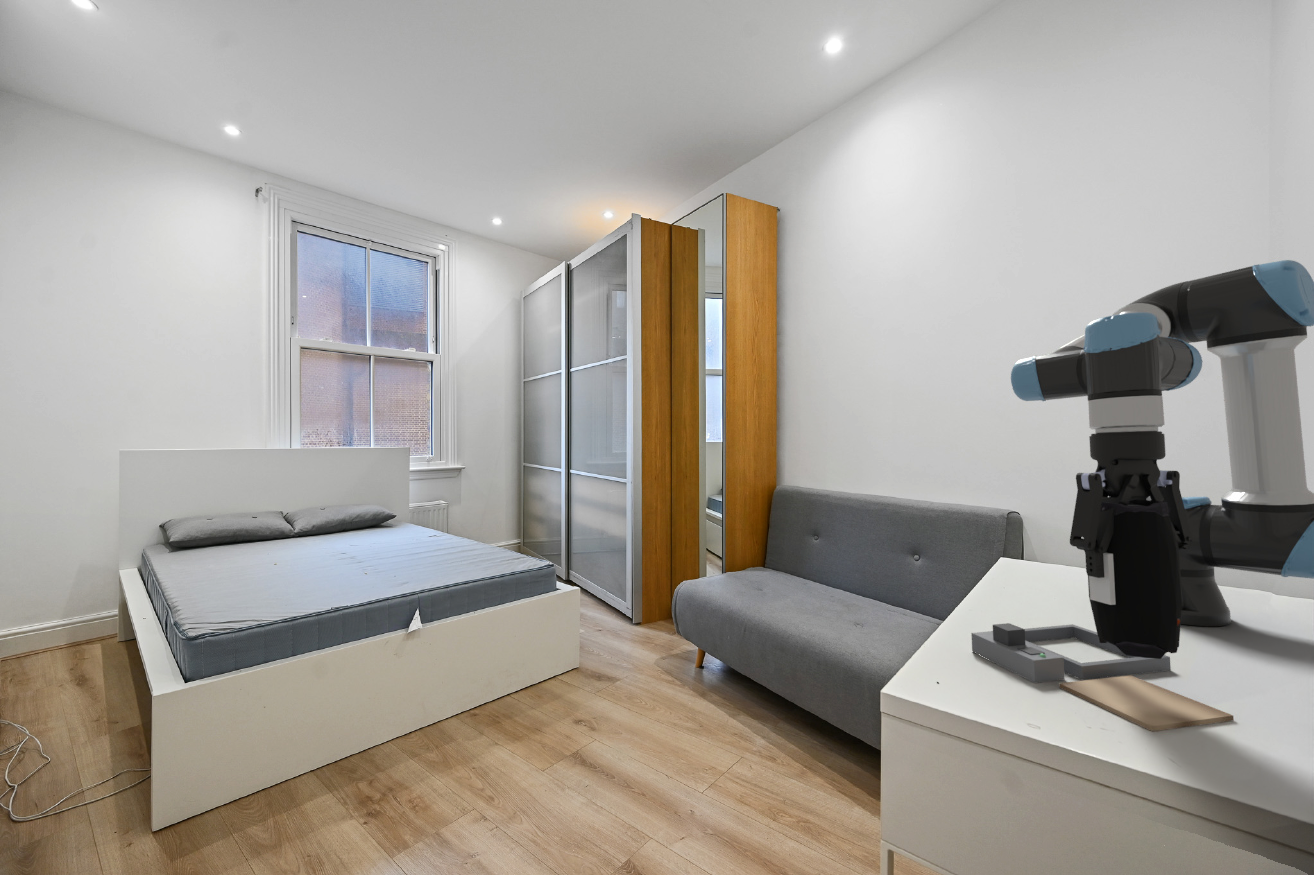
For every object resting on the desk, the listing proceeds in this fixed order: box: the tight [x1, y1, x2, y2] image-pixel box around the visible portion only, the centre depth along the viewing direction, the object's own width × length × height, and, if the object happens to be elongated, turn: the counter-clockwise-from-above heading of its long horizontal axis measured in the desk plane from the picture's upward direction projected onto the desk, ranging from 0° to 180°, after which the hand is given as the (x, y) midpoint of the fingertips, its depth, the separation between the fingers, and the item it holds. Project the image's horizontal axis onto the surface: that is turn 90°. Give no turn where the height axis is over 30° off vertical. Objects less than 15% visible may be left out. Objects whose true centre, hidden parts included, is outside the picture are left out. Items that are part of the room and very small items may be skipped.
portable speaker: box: [1087, 501, 1182, 659], centre depth 70 cm, size 9×9×20 cm
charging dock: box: [1024, 624, 1172, 681], centre depth 85 cm, size 18×16×2 cm
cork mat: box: [1058, 675, 1234, 732], centre depth 69 cm, size 12×12×1 cm
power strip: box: [971, 622, 1065, 684], centre depth 82 cm, size 5×12×6 cm, turn 9°
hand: (1134, 599), depth 70 cm, fingers closed on portable speaker, 9 cm apart
